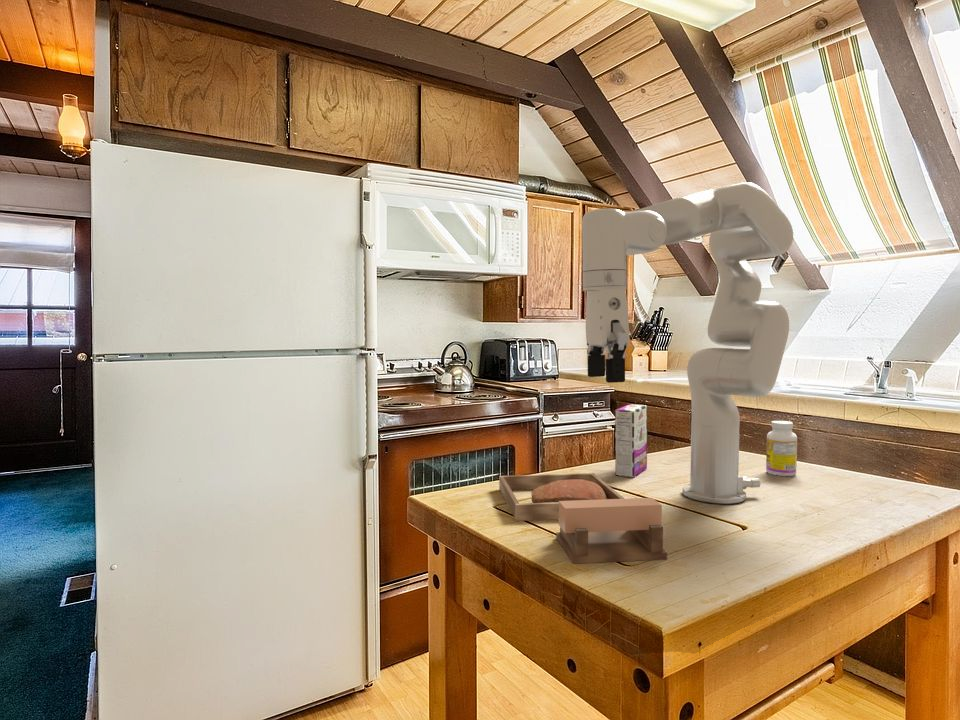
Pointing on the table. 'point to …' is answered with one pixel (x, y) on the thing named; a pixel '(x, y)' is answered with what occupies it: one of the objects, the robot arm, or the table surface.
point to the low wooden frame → (534, 481)
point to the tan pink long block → (609, 514)
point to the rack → (613, 545)
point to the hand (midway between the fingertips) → (605, 379)
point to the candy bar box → (630, 440)
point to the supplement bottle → (781, 449)
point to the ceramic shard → (567, 491)
